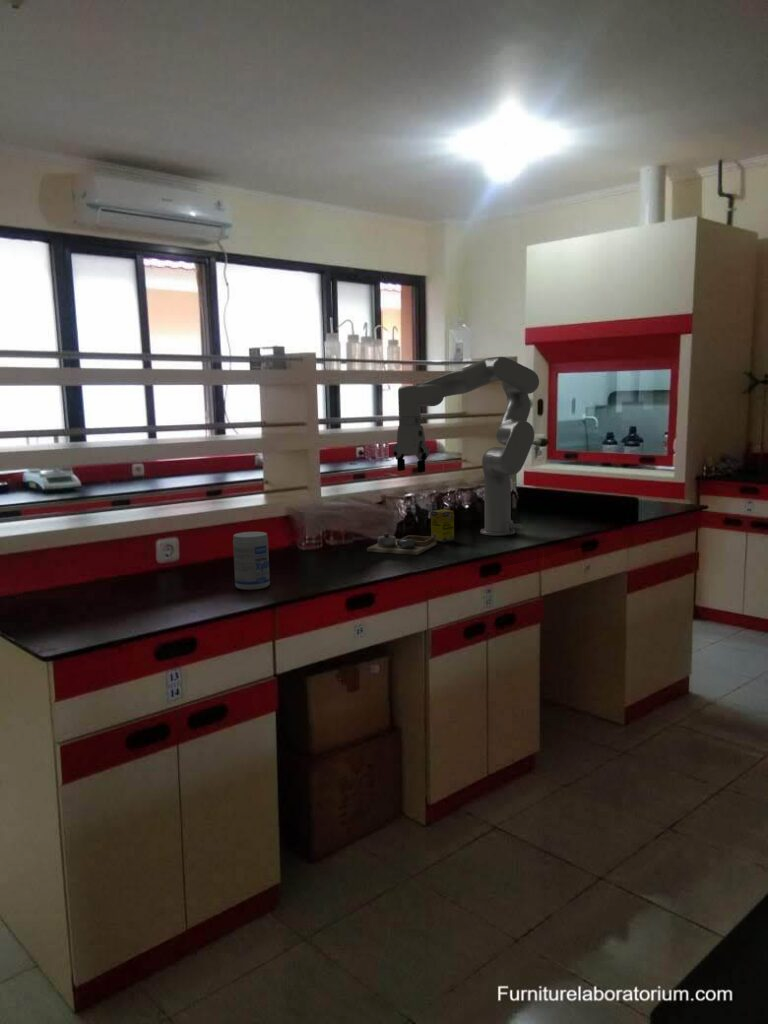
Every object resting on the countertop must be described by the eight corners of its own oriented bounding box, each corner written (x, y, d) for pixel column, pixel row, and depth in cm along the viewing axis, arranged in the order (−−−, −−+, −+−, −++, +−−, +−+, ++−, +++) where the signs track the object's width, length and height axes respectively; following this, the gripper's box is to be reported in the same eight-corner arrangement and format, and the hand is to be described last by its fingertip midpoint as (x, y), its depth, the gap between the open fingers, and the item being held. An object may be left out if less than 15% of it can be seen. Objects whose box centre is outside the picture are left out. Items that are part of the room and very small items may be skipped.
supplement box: (442, 543, 271) (442, 512, 269) (430, 541, 275) (430, 510, 274) (454, 541, 274) (454, 510, 273) (443, 539, 279) (442, 508, 277)
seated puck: (416, 546, 260) (416, 539, 260) (411, 549, 256) (411, 542, 255) (402, 545, 262) (402, 538, 262) (397, 548, 258) (396, 541, 257)
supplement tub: (263, 591, 210) (261, 537, 208) (230, 590, 212) (227, 537, 209) (274, 582, 220) (272, 531, 217) (242, 582, 221) (239, 530, 219)
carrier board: (436, 544, 269) (436, 529, 268) (417, 554, 253) (417, 538, 252) (388, 541, 276) (388, 526, 275) (367, 551, 260) (366, 535, 259)
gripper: (435, 421, 265) (437, 471, 268) (399, 421, 278) (401, 469, 280) (420, 422, 260) (422, 473, 263) (384, 422, 272) (386, 471, 275)
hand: (411, 471), depth 272 cm, fingers open, 9 cm apart
